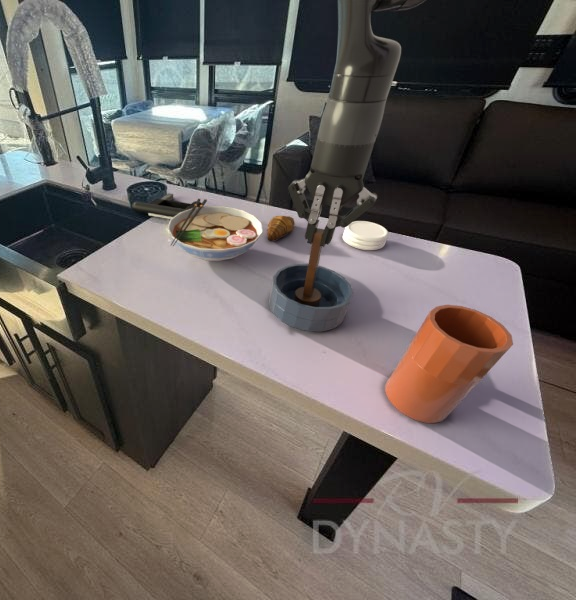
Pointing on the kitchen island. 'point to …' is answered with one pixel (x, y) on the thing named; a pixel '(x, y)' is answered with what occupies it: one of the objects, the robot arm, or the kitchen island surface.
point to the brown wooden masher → (311, 274)
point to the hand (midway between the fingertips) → (317, 242)
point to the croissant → (279, 227)
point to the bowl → (307, 317)
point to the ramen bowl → (214, 231)
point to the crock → (446, 362)
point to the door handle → (163, 207)
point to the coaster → (365, 235)
